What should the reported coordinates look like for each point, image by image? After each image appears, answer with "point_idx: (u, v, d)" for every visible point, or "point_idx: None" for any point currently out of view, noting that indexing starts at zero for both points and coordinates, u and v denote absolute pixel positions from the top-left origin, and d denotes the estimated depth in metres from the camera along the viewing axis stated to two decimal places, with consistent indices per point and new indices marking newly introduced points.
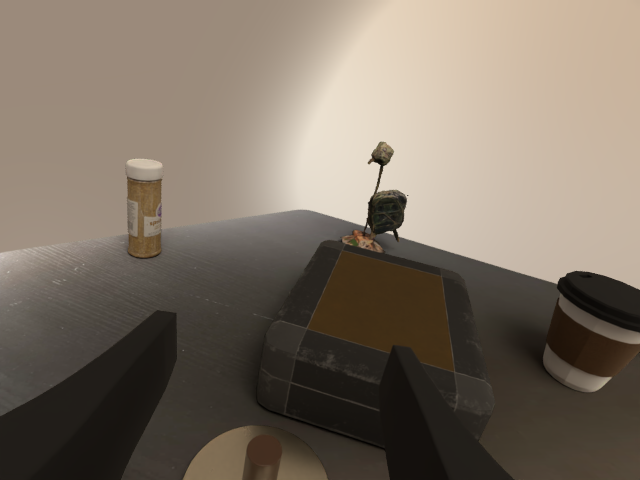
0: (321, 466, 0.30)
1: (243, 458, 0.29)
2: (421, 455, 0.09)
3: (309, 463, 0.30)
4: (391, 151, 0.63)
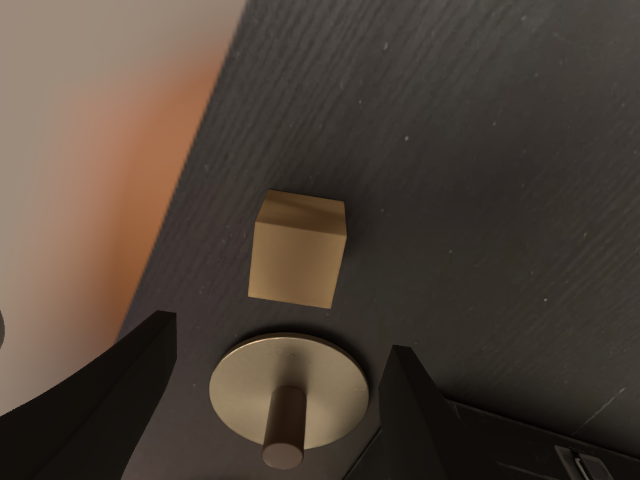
0: (312, 446, 0.28)
1: (323, 388, 0.25)
2: (421, 455, 0.09)
3: (316, 438, 0.28)
4: None
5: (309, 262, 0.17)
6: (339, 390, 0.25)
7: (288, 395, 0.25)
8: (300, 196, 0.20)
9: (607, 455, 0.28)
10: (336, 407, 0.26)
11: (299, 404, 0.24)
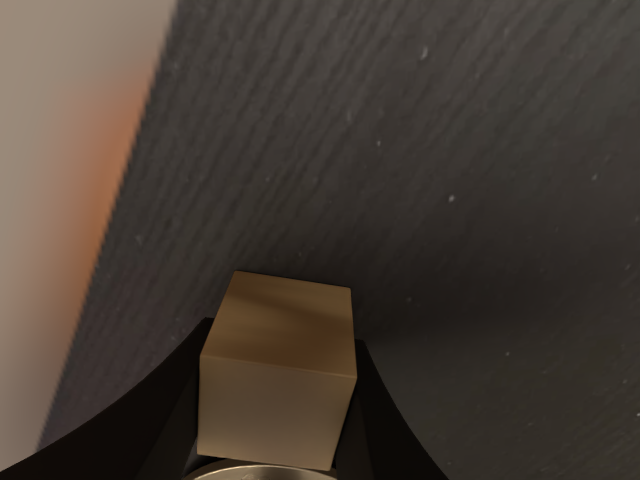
0: None
1: None
2: (357, 447, 0.09)
3: None
4: None
5: (294, 412, 0.10)
6: None
7: None
8: (283, 282, 0.13)
9: None
10: None
11: None
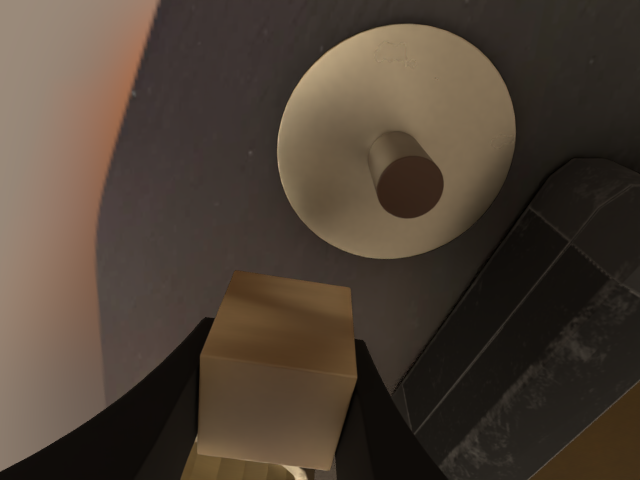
0: (415, 253, 0.20)
1: (449, 134, 0.17)
2: (357, 447, 0.09)
3: (423, 237, 0.19)
4: None
5: (295, 411, 0.10)
6: (472, 139, 0.17)
7: (401, 135, 0.16)
8: (283, 282, 0.13)
9: None
10: (461, 174, 0.18)
11: (419, 144, 0.16)
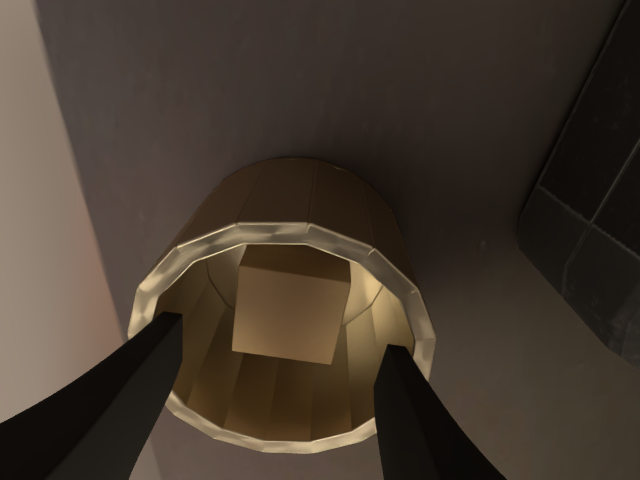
0: None
1: None
2: (414, 454, 0.09)
3: None
4: None
5: (305, 312, 0.14)
6: None
7: None
8: None
9: None
10: None
11: None
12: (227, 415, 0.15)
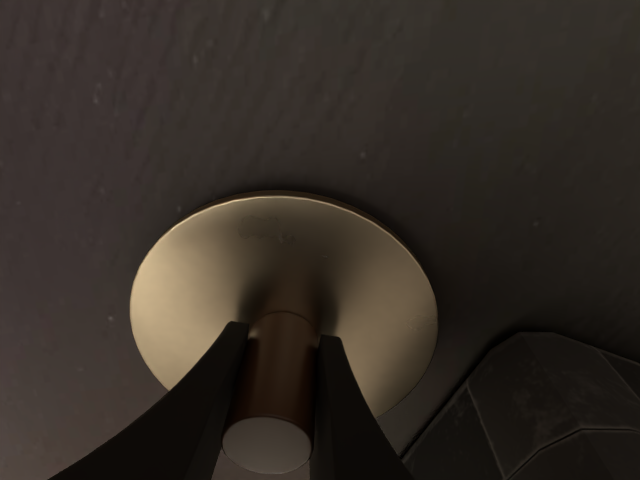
0: None
1: (351, 315, 0.13)
2: (325, 442, 0.09)
3: None
4: None
5: None
6: (381, 320, 0.13)
7: (282, 326, 0.12)
8: None
9: None
10: (373, 356, 0.14)
11: (304, 342, 0.12)
12: None
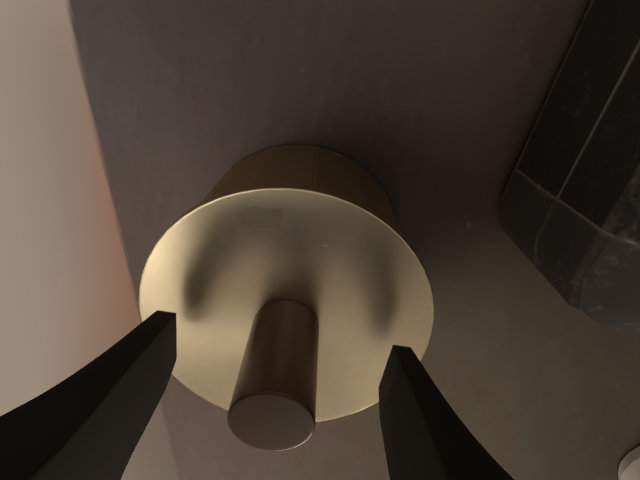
0: (326, 418, 0.16)
1: (350, 303, 0.14)
2: (421, 455, 0.09)
3: (334, 403, 0.16)
4: None
5: None
6: (379, 308, 0.14)
7: (284, 313, 0.13)
8: None
9: None
10: (372, 343, 0.14)
11: (305, 328, 0.13)
12: None
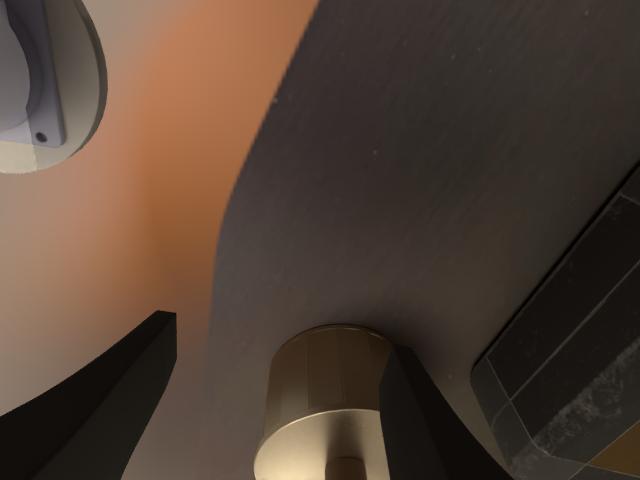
0: None
1: None
2: (421, 455, 0.09)
3: None
4: None
5: None
6: None
7: (351, 470, 0.21)
8: None
9: None
10: None
11: None
12: None
